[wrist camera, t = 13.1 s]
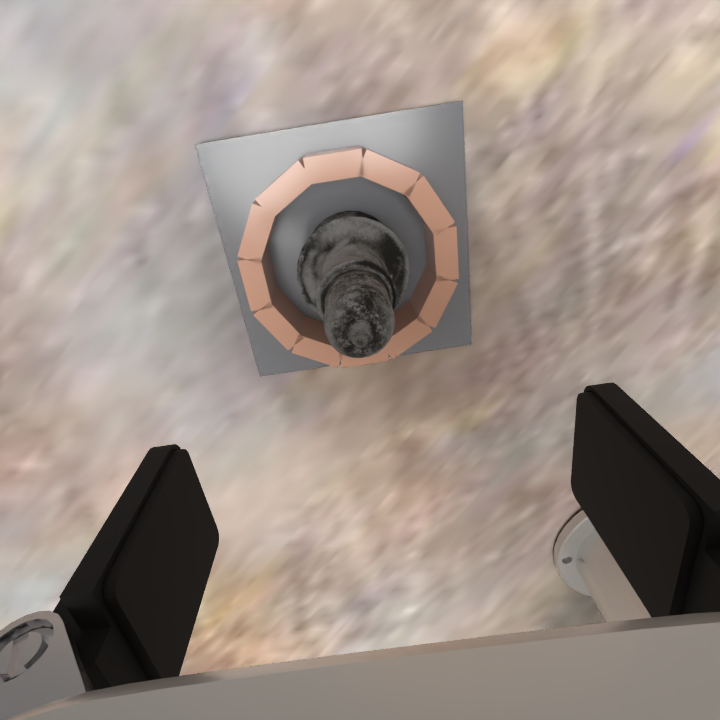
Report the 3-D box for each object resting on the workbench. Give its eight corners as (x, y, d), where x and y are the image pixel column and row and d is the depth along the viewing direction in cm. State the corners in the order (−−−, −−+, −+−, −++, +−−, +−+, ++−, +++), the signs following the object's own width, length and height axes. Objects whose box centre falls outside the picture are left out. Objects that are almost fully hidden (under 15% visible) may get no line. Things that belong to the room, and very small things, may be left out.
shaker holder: (457, 101, 25) (478, 98, 21) (467, 337, 31) (484, 365, 28) (199, 143, 25) (177, 147, 21) (262, 369, 31) (252, 400, 28)
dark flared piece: (285, 279, 28) (253, 378, 17) (327, 185, 25) (321, 231, 15) (372, 319, 29) (394, 434, 18) (419, 234, 27) (475, 308, 16)
